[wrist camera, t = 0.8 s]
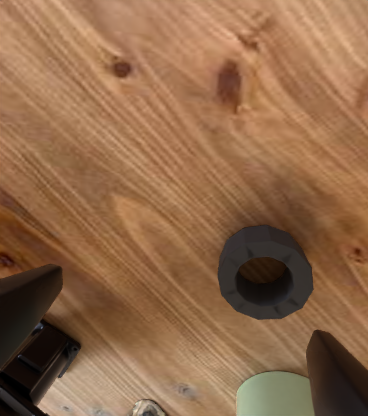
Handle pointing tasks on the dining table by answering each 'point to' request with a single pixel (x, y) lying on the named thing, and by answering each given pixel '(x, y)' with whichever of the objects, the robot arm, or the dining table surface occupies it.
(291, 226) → the dining table surface
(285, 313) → the rubber ring
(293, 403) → the green cylinder with peg
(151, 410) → the blueberry tart
